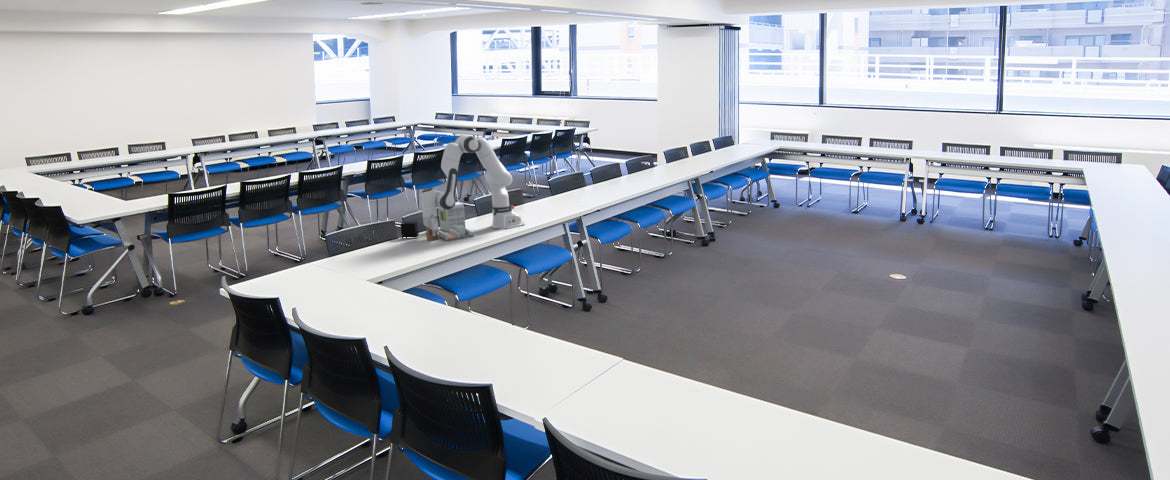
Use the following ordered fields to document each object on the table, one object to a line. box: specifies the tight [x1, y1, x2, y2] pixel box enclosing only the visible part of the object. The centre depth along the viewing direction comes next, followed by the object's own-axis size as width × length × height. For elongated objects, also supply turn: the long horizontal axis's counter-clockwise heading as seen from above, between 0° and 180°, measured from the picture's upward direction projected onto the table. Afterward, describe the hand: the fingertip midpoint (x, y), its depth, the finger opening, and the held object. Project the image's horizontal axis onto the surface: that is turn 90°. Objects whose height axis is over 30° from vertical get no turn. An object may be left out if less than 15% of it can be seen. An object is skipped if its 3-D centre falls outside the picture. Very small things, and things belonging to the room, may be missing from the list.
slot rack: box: [437, 225, 474, 242], centre depth 493 cm, size 19×18×6 cm
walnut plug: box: [425, 227, 439, 242], centre depth 486 cm, size 6×4×8 cm, turn 119°
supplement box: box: [437, 201, 467, 233], centre depth 512 cm, size 13×13×18 cm
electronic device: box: [400, 221, 420, 239], centre depth 494 cm, size 4×10×10 cm, turn 78°
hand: (431, 234), depth 487 cm, fingers open, 7 cm apart
